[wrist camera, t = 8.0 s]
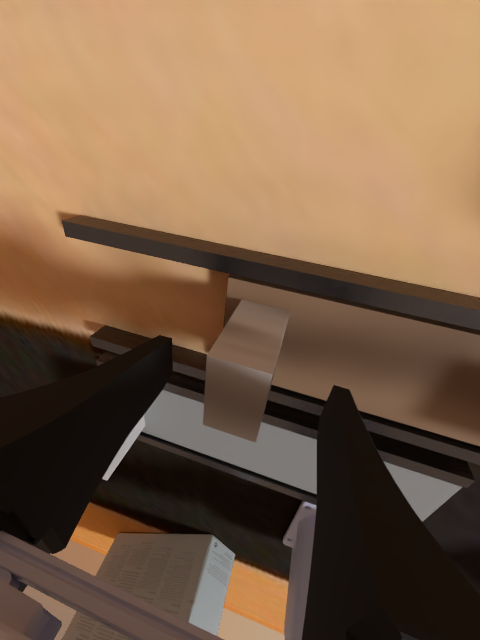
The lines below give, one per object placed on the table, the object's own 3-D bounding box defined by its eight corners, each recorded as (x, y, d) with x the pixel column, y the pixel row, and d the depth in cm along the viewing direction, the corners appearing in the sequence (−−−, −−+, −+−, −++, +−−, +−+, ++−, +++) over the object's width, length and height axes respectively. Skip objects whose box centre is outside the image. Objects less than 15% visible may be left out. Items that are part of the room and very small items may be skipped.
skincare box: (141, 549, 44) (61, 712, 31) (118, 531, 43) (24, 694, 30) (239, 557, 34) (181, 808, 21) (214, 533, 32) (134, 788, 19)
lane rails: (402, 517, 20) (406, 538, 19) (123, 417, 24) (113, 430, 23) (603, 323, 10) (636, 344, 9) (82, 215, 15) (61, 220, 14)
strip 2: (410, 513, 19) (433, 621, 15) (120, 411, 24) (70, 472, 19) (455, 470, 16) (503, 591, 12) (109, 361, 20) (46, 419, 16)
